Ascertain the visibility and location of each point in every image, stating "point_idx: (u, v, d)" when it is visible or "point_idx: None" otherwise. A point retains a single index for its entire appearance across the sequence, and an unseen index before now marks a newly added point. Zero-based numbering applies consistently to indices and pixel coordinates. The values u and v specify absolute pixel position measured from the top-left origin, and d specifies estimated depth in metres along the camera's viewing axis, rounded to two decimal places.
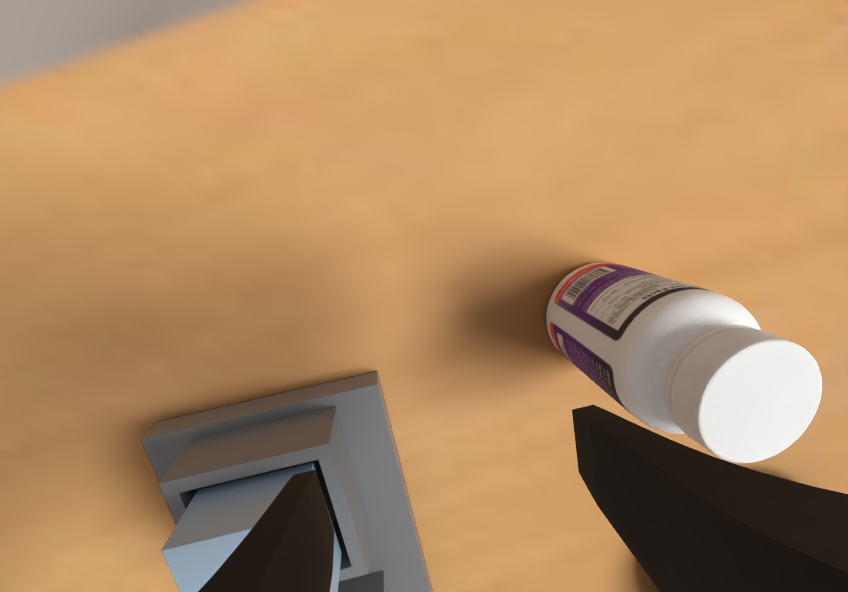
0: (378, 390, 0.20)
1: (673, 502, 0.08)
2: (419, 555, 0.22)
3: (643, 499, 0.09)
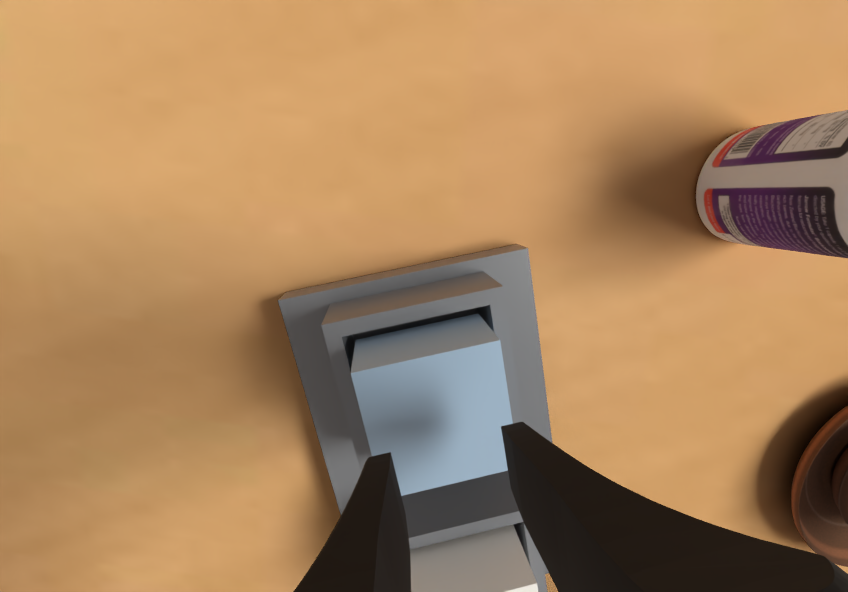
0: (527, 256, 0.18)
1: (569, 528, 0.08)
2: None
3: (551, 522, 0.09)
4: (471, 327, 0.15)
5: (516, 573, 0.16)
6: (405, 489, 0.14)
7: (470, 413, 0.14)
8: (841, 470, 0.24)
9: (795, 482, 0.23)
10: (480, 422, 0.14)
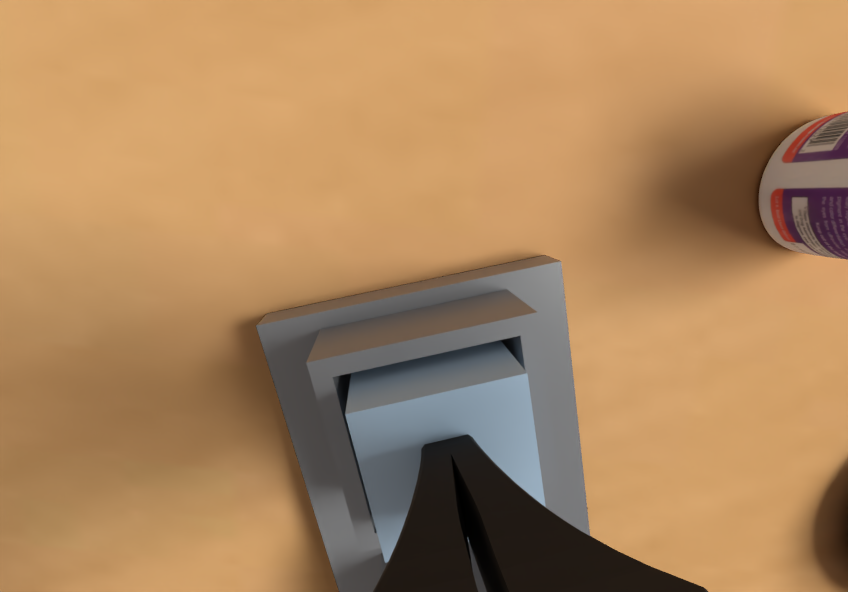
0: (560, 270, 0.15)
1: (488, 548, 0.07)
2: (584, 496, 0.18)
3: (480, 540, 0.08)
4: (489, 354, 0.12)
5: None
6: None
7: None
8: None
9: None
10: (503, 471, 0.11)
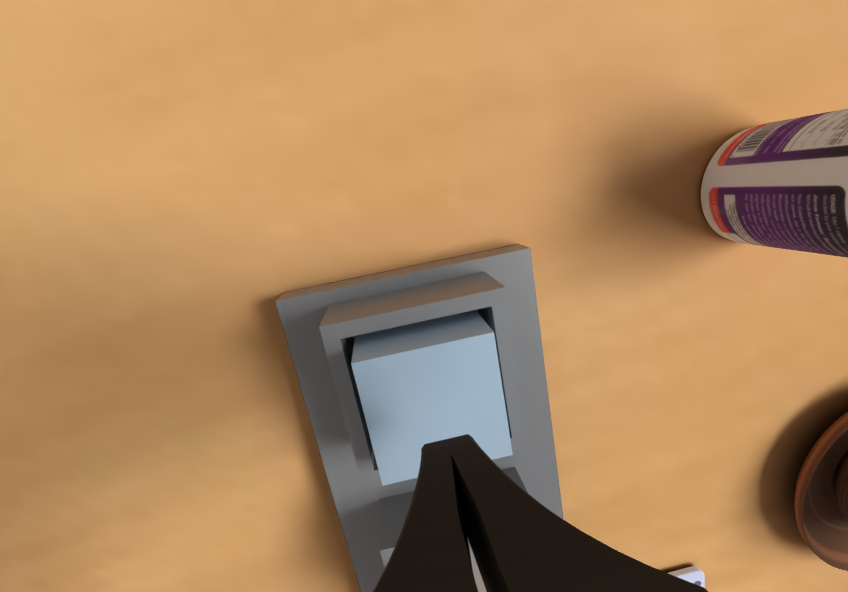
0: (529, 256, 0.18)
1: (488, 548, 0.07)
2: (553, 451, 0.21)
3: (480, 540, 0.08)
4: (466, 320, 0.15)
5: None
6: (403, 474, 0.15)
7: (466, 402, 0.14)
8: (845, 474, 0.23)
9: (799, 486, 0.23)
10: (475, 411, 0.14)
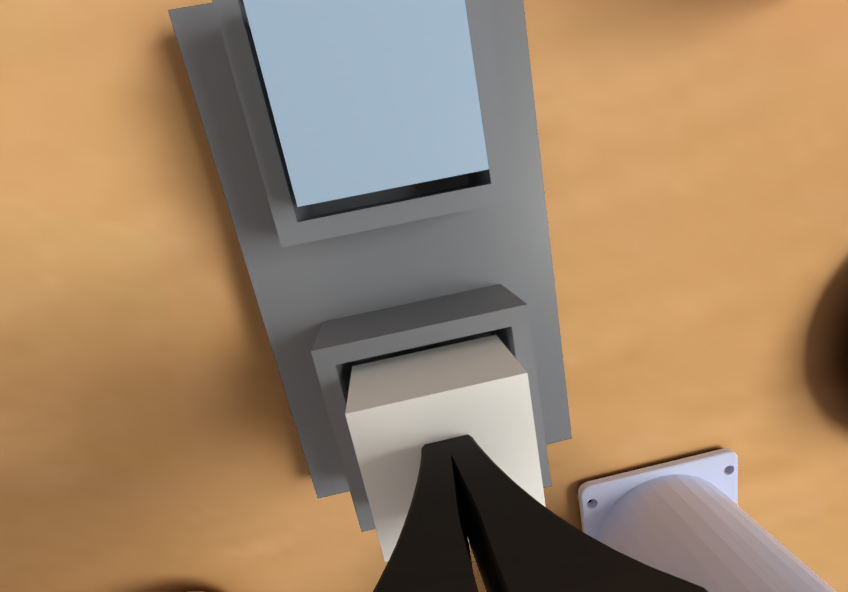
0: None
1: (488, 548, 0.07)
2: (550, 264, 0.16)
3: (480, 540, 0.08)
4: None
5: (497, 368, 0.11)
6: (327, 190, 0.10)
7: (417, 69, 0.10)
8: None
9: None
10: (432, 87, 0.10)
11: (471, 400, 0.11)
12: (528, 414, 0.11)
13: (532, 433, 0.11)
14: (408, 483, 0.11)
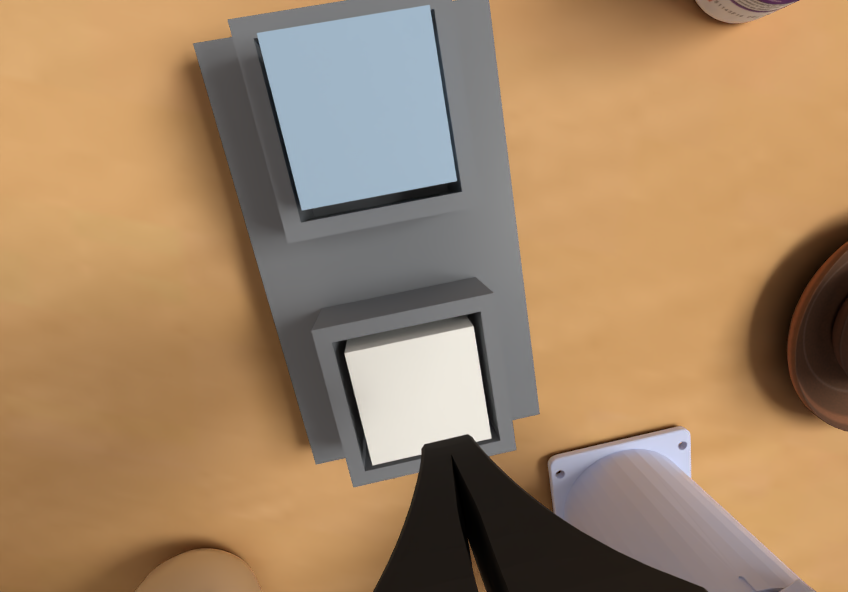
0: (488, 6, 0.16)
1: (488, 548, 0.07)
2: (519, 260, 0.18)
3: (480, 540, 0.08)
4: None
5: (454, 324, 0.16)
6: (326, 197, 0.13)
7: (398, 101, 0.12)
8: (843, 315, 0.21)
9: (792, 327, 0.21)
10: (411, 116, 0.12)
11: (434, 345, 0.15)
12: (474, 356, 0.16)
13: (478, 371, 0.16)
14: (389, 406, 0.16)
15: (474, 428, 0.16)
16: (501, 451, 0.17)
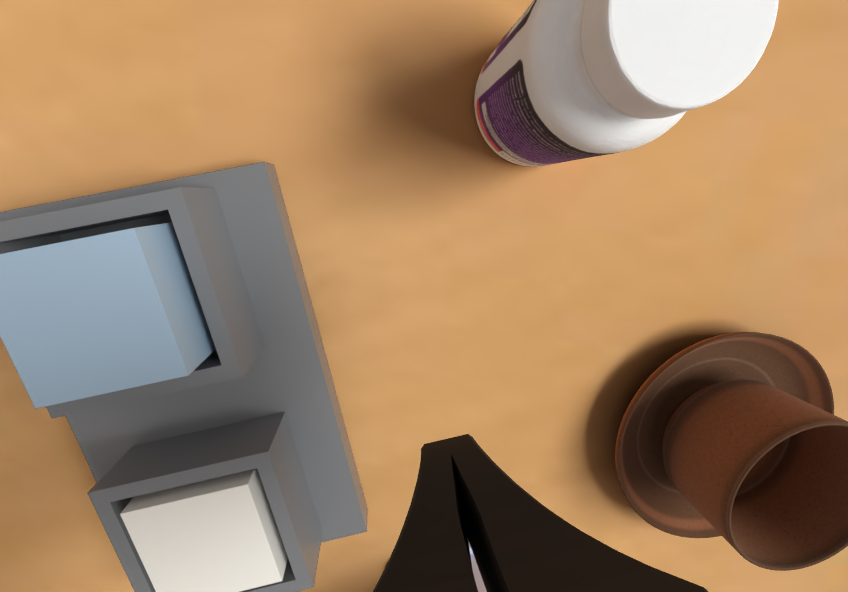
0: (266, 171, 0.16)
1: (488, 548, 0.07)
2: (327, 395, 0.19)
3: (480, 540, 0.08)
4: None
5: (236, 477, 0.16)
6: (58, 396, 0.13)
7: (117, 311, 0.13)
8: (667, 430, 0.22)
9: (616, 442, 0.21)
10: (131, 322, 0.13)
11: (210, 503, 0.16)
12: (253, 510, 0.16)
13: (259, 522, 0.16)
14: (173, 557, 0.16)
15: (263, 573, 0.17)
16: (298, 589, 0.18)
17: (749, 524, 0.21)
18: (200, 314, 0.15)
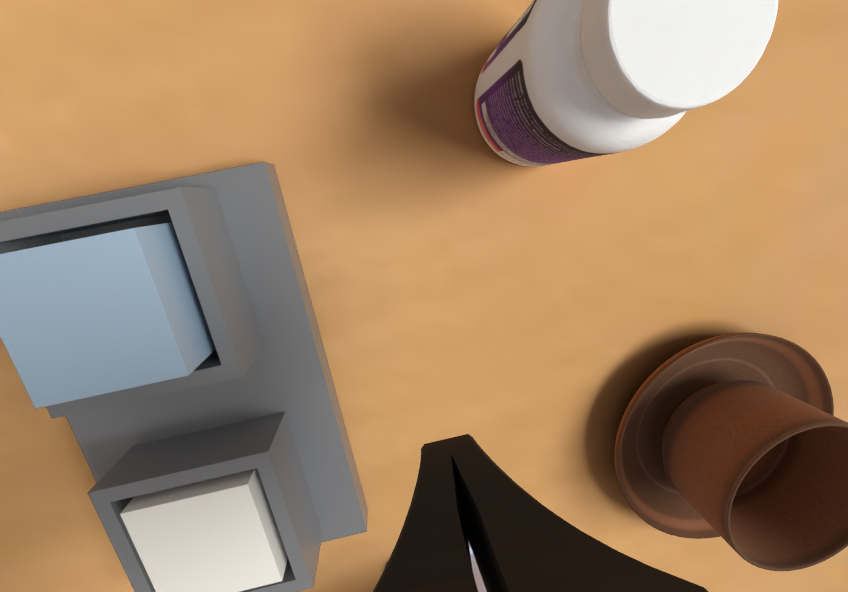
0: (266, 171, 0.16)
1: (488, 548, 0.07)
2: (327, 395, 0.19)
3: (480, 540, 0.08)
4: None
5: (236, 477, 0.16)
6: (58, 396, 0.13)
7: (117, 311, 0.13)
8: (666, 430, 0.22)
9: (615, 443, 0.21)
10: (131, 322, 0.13)
11: (210, 503, 0.16)
12: (253, 510, 0.16)
13: (259, 522, 0.16)
14: (173, 557, 0.16)
15: (263, 573, 0.17)
16: (298, 589, 0.18)
17: (748, 525, 0.21)
18: (200, 314, 0.15)
